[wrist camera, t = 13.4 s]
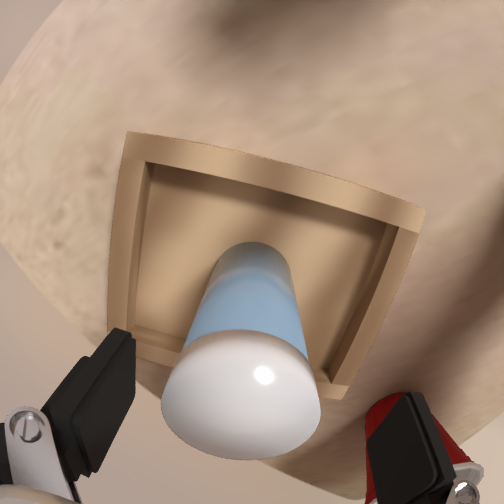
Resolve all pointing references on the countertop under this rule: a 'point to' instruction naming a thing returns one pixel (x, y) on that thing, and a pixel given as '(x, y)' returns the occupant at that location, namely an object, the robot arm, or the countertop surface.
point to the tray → (252, 230)
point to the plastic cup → (459, 460)
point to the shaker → (244, 363)
